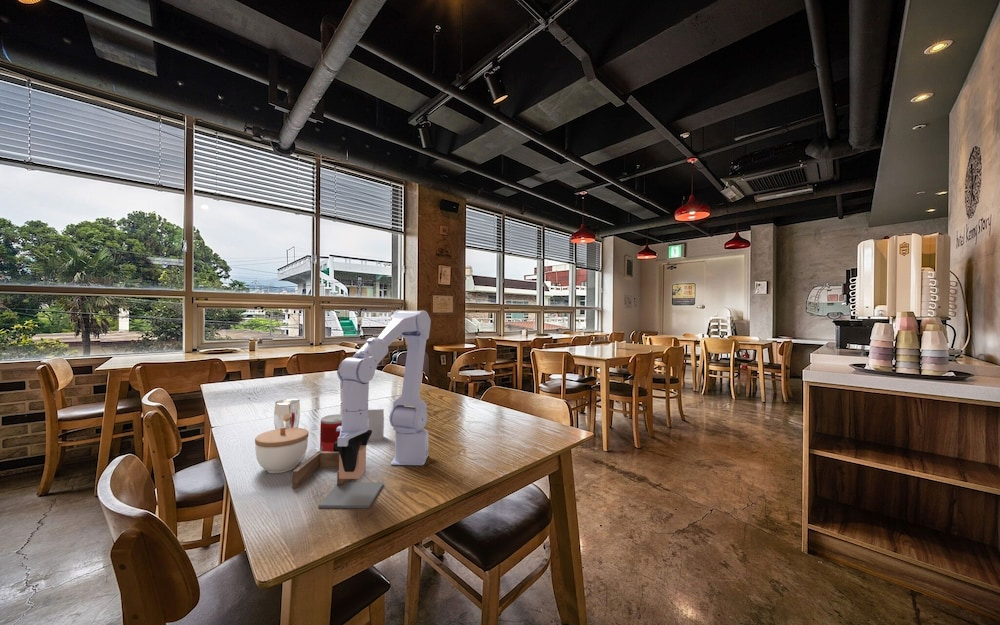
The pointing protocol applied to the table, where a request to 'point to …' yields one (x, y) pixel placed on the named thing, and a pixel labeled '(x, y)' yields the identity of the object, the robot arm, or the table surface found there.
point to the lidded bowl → (281, 449)
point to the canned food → (329, 432)
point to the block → (359, 467)
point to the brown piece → (316, 467)
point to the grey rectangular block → (376, 424)
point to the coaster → (352, 495)
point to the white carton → (287, 413)
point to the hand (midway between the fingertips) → (353, 466)
